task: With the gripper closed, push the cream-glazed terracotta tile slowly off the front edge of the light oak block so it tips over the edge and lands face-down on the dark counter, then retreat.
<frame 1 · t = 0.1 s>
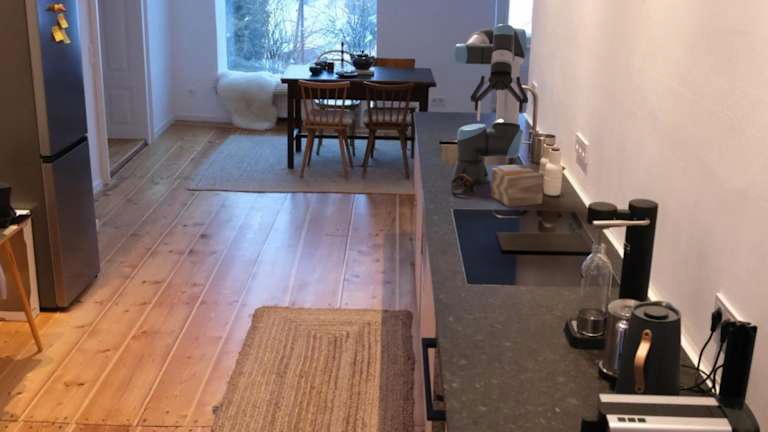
hand: (497, 119, 301), 36 cm above the counter, tool tilted 35°, fingers open, 13 cm apart
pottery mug: (463, 192, 344), on the counter
oak block: (516, 199, 333), on the counter
tile: (510, 172, 328), point 11 cm above the counter, touching oak block
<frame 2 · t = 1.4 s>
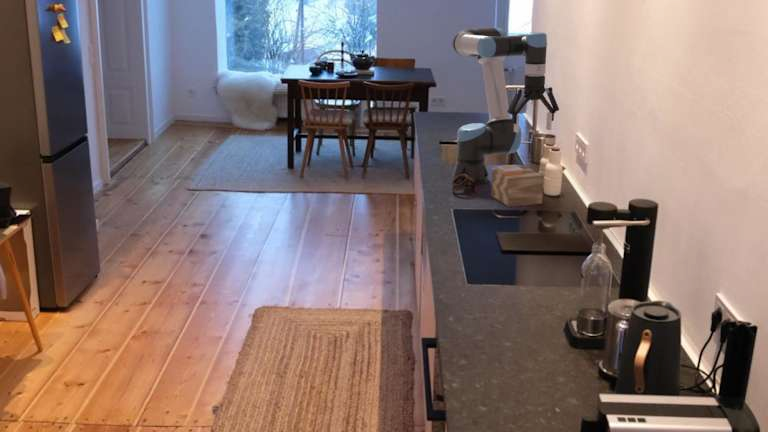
hand: (532, 130, 326), 27 cm above the counter, tool pointing down, fingers open, 13 cm apart
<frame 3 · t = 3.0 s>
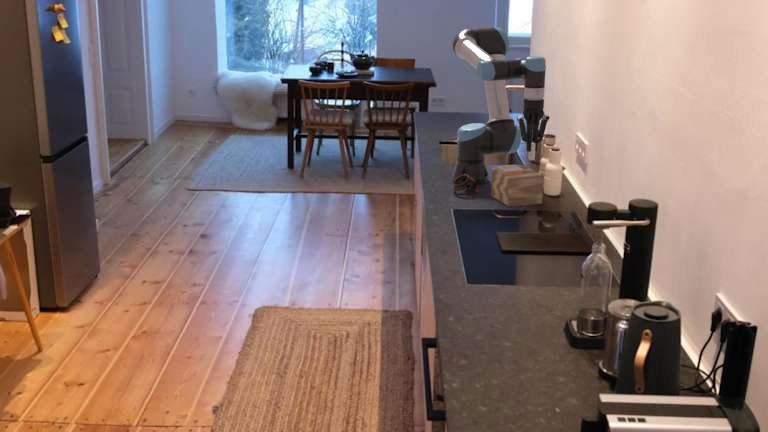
hand: (531, 159, 329), 16 cm above the counter, tool pointing down, fingers closed
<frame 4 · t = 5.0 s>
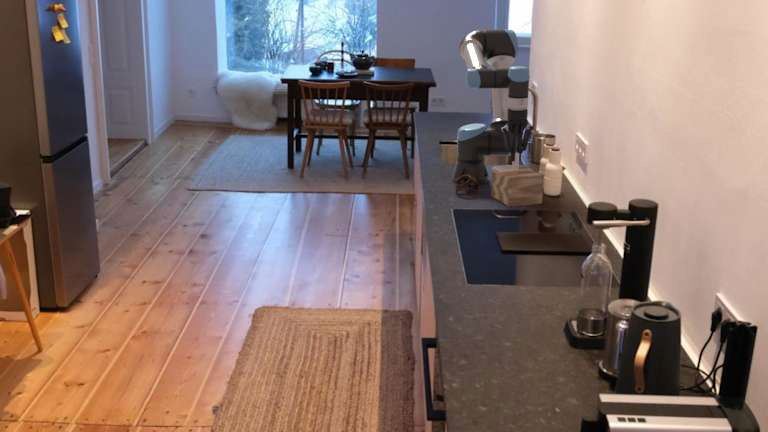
hand: (515, 169, 329), 12 cm above the counter, tool pointing down, fingers closed
tile: (505, 172, 328), point 11 cm above the counter, touching gripper, oak block
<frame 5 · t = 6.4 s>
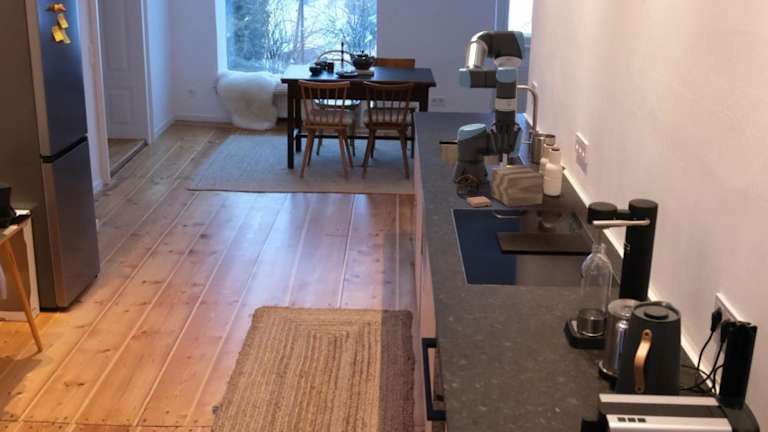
hand: (503, 170, 327), 12 cm above the counter, tool pointing down, fingers closed
tile: (478, 199, 327), point 1 cm above the counter, tilted 179°
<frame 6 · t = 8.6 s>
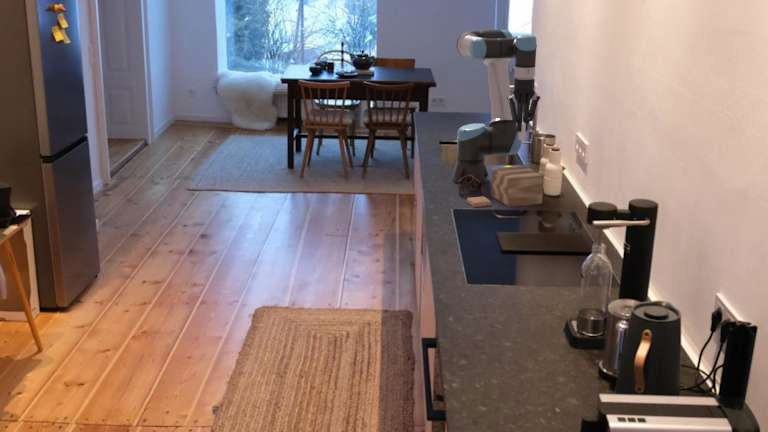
hand: (521, 139, 326), 23 cm above the counter, tool pointing down, fingers closed
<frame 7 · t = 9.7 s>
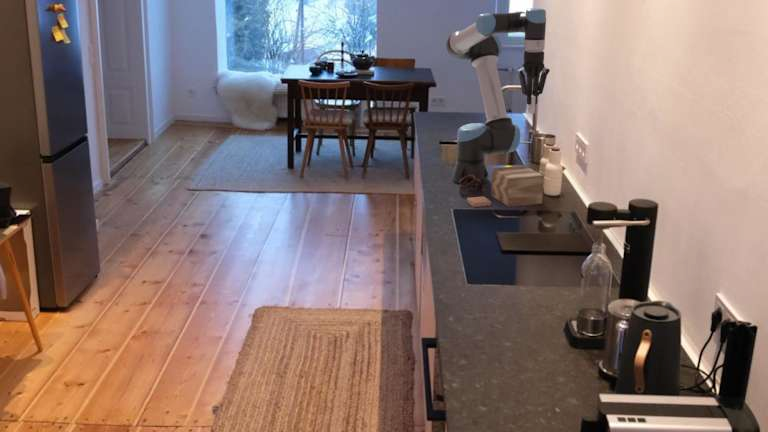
hand: (531, 112, 330), 32 cm above the counter, tool pointing down, fingers closed
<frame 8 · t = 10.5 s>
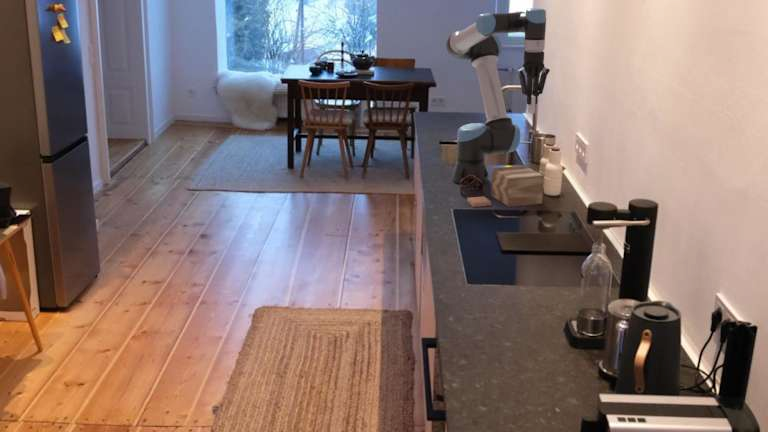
hand: (531, 112, 330), 32 cm above the counter, tool pointing down, fingers closed
at the end: tile tilted 179°; tile inside the target area (1.1 cm from its centre), point 1.5 cm above the counter; tile touching counter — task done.
